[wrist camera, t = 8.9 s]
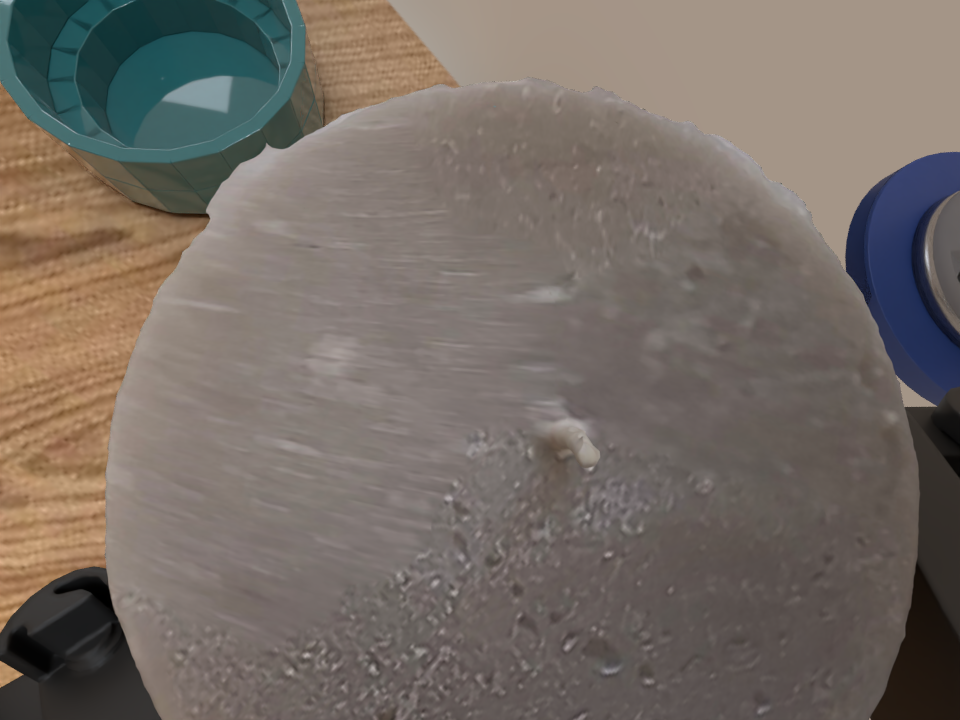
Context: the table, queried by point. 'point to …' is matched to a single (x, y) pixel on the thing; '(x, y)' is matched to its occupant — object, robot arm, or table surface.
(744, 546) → the pillar candle
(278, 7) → the bowl
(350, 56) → the table surface
